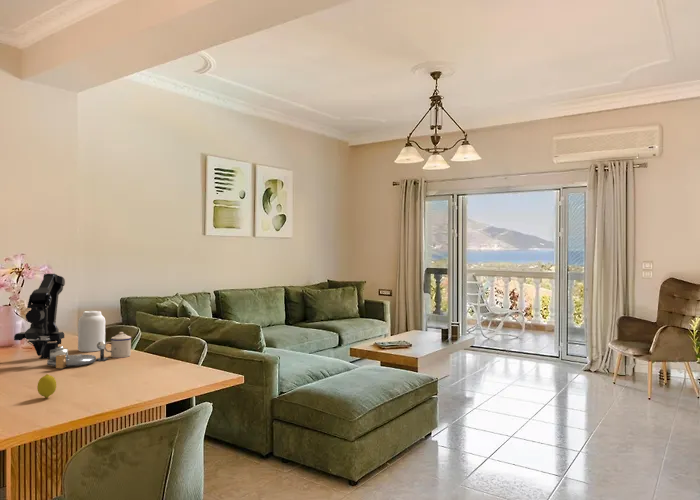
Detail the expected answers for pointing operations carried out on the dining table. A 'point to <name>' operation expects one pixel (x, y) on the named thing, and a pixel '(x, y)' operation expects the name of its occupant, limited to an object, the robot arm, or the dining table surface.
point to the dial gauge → (101, 351)
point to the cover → (58, 352)
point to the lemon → (46, 386)
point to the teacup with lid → (120, 346)
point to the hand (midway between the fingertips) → (39, 355)
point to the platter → (71, 360)
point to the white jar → (90, 331)
